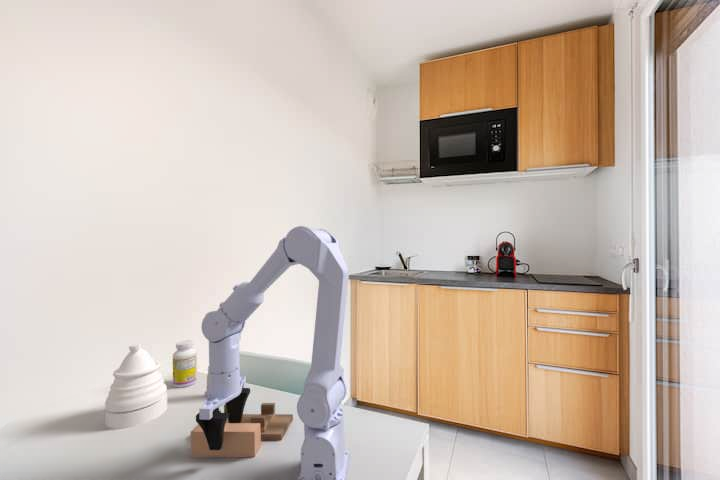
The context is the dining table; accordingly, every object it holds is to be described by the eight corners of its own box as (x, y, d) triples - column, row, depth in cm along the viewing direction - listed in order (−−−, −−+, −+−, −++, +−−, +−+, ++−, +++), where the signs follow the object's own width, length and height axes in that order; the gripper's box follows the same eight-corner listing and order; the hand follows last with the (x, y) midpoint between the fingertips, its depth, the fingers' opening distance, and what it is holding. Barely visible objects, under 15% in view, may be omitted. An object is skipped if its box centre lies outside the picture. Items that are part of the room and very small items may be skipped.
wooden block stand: (281, 440, 66) (281, 419, 66) (191, 438, 68) (191, 419, 68) (292, 419, 74) (292, 401, 74) (212, 418, 76) (211, 401, 76)
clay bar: (254, 457, 61) (254, 431, 61) (191, 457, 62) (190, 431, 62) (260, 448, 64) (260, 423, 64) (199, 447, 65) (199, 423, 65)
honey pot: (163, 419, 76) (162, 345, 77) (97, 434, 71) (96, 354, 71) (170, 398, 88) (169, 333, 89) (113, 409, 82) (112, 340, 83)
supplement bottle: (177, 380, 100) (177, 340, 100) (200, 378, 101) (199, 338, 102) (169, 389, 93) (168, 346, 94) (193, 386, 95) (192, 344, 95)
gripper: (224, 356, 71) (225, 417, 71) (182, 384, 57) (183, 460, 56) (254, 356, 70) (255, 417, 70) (220, 384, 56) (221, 461, 55)
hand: (225, 437), depth 63 cm, fingers open, 7 cm apart
